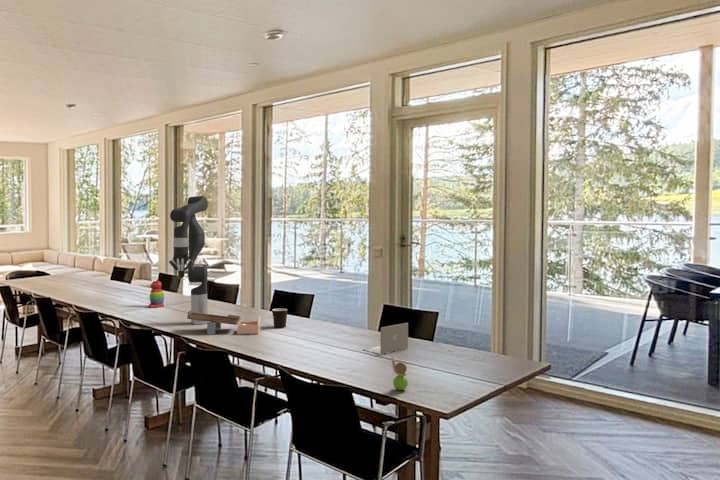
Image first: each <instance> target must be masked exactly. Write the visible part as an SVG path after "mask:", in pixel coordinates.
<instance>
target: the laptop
mask: <svg viewBox="0 0 720 480" xmlns="http://www.w3.org/2000/svg"><path fill="white" fill-rule="evenodd" d="M371 348H373V349H369V351H371V350H374V351H373V352H374V353H373V354H375V352H377V353H378V354H377V355H379V354H383V355H385V354H384V353H387V354H389V353H388V352H392V353H394V352H393V351H396V352H399V351H398V350H401V351H404V350H403V349H405V350H408V349H409V322H403V323H398V324H392V325H387V326H382V327H380V345H377V346H372V347H371Z"/></svg>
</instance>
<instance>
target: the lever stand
mask: <svg viewBox="0 0 720 480" xmlns="http://www.w3.org/2000/svg"><path fill="white" fill-rule="evenodd" d="M206 324H207V326H206V327H207V328H206V329H207V331H206V333H207V336H208V335H209V336H210V335H211V336H212V335H216V330H219V329H222V323H216V322H207V323H206Z"/></svg>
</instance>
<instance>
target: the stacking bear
mask: <svg viewBox="0 0 720 480" xmlns="http://www.w3.org/2000/svg"><path fill="white" fill-rule="evenodd" d="M149 287H150V288H151V289H150V292H149V293H150V294H149V302H150V303H149V304H148V309H157V308H163V307H165V303H164V302H165V293H164V291H163V289H162V282H161V281H160V280H158V279H157V280H153V282H152V283H151V284H150V285H149Z"/></svg>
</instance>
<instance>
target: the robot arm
mask: <svg viewBox="0 0 720 480" xmlns="http://www.w3.org/2000/svg"><path fill="white" fill-rule="evenodd" d="M208 208H209V202H208V198H207V197H205V196H204V195H195V196H190V197H188V199H187V202H186V204H185V205H183V206H181V207H177V208H173V209H172V210H171V212H170V213H169V218H170V220H171V221H172V222H173V223H181V225H180V226H179V225H178V226H175V227H174V228H173V257H172V259H171V260H169V261H168V262H169V264H170V266H172V268H173V269H174V270H175V271H177V272H178V273H177V274H178V277H179V278H180V279H183V278H184V277H185V271H187V279H188V280H187V281H188V282H189V283H201V284H200V285H198V286H196V287H193V288H191V290H190V310H192V312H197V313H205V314H209V313H208V307H209V306H208V272H209V271H208V268H207V266H205V265H204V266H203V265H201V266H199V265H197V266H196V265H195V262H196V260H197V258H198V256H199V254H200V253H201V252H202V250H203V248H204V247H205V244H206V234H205V231H204V229H203V228H202V226H201V224H200V223H199V222H198V220H197V218H196V214H198V213H203V212H205V211H207V209H208ZM186 264H187V265H186ZM207 322H208V321H200V320H192V319H190V324H191V325H206V324H207Z"/></svg>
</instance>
